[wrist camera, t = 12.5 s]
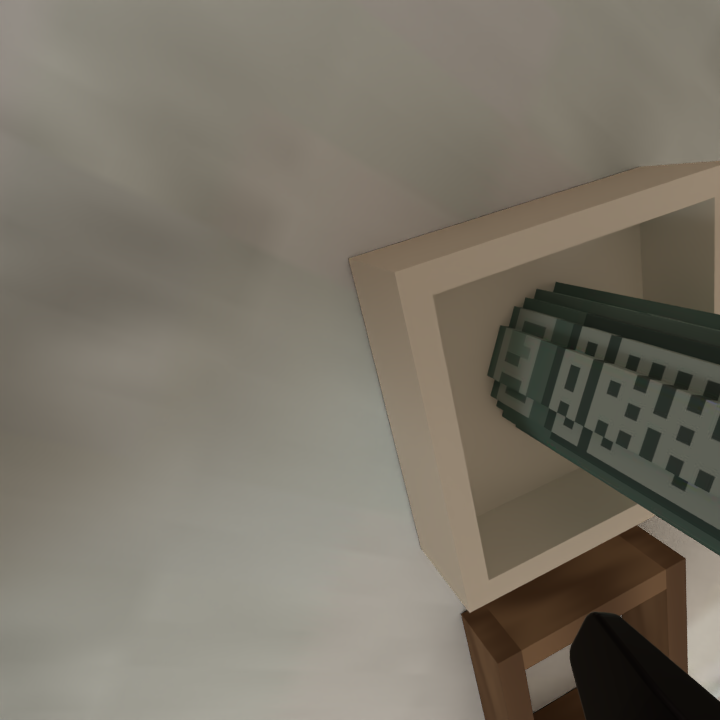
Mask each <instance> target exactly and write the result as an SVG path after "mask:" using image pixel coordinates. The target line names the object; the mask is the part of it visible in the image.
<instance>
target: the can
mask: <svg viewBox="0 0 720 720" xmlns="http://www.w3.org/2000/svg"><path fill="white" fill-rule="evenodd" d="M487 376H489V377H491V378H493V379H495V380H494V384H493V388H492V391H491V395H490V396H492V397H493V398H495V399H497V400H498V401H497V405H496V406H497V407H498V408H500V409H502V410H503V413H502V417H504V418H505V419H507V420H509V421H510V422H512V423H513V424H515V425H516V426H515V427H517V428H518V429H520V430H521V431H523V432H525V433H526V434H528V435H529V436H531V437H532V438H534V439H536V440H537V441H539V442H540V443H542V444H544V445H545V446H547V447H548V448H550V449H551V450H553V451H555V452H556V453H558V454H559V455H561V456H563V457H564V458H566V459H567V460H569V461H570V462H572V463H574V464H575V465H577V466H578V467H580V468H582V469H583V470H585V471H586V472H588V473H590V474H591V475H593V476H594V477H596V478H597V479H599V480H601V481H602V482H604V483H605V484H607V485H609V486H610V487H612V488H613V489H615V490H616V491H618V492H620V493H621V494H623V495H624V496H626V497H628V498H629V499H631V500H632V501H634V502H636V503H637V504H639V505H640V506H642V507H643V508H645V509H647V510H648V511H650V512H651V513H653V514H655V515H656V516H658V517H659V518H661V519H662V520H664V521H666V522H667V523H669V524H670V525H672V526H674V527H675V528H677V529H678V530H680V531H682V532H683V533H685V534H686V535H688V536H689V537H691V538H693V539H694V540H696V541H697V542H699V543H701V544H702V545H704V546H705V547H707V548H708V549H710V550H712V551H713V552H715V553H716V554H718V555H720V315H719V314H714V313H709V312H704V311H699V310H694V309H689V308H684V307H679V306H674V305H669V304H664V303H659V302H654V301H649V300H644V299H639V298H634V297H629V296H624V295H619V294H614V293H609V292H604V291H599V290H594V289H589V288H584V287H579V286H574V285H569V284H564V283H559V282H556V283H555V287H554V290H553V292H551V291H546V290H541V289H536V293H535V296H534V299H531V298H526V297H525V301H524V305H523V308H522V307H516V306H514V309H513V313H512V316H511V320H510V324H509V327H508V326H502V325H500V328H499V332H498V335H497V339H496V343H495V347H494V351H493V354H492V358H491V362H490V366H489V370H488V374H487Z"/></svg>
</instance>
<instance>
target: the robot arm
mask: <svg viewBox="0 0 720 720" xmlns="http://www.w3.org/2000/svg"><path fill="white" fill-rule="evenodd" d="M570 663H571V667H572V671H573V675H574V678H575V682H576V686H577V690H578V693H579V697H580V701H581V704H582V708H583V712H584V716H585V719H586V720H720V701H719V700H717V699H716V698H715V697H714V696H713V695H712V694H710V693H709V692H708V691H707V690H706V689H704V688H703V687H702V686H701V685H700V684H699V683H697V682H696V681H695V680H694V679H693V678H692V677H690V676H689V675H688V674H687V673H686V672H685V671H683V670H682V669H681V668H680V667H679V666H678V665H676V664H675V663H674V662H673V661H672V660H671V659H669V658H668V657H667V656H666V655H665V654H664V653H662V652H661V651H660V650H659V649H658V648H656V647H655V646H654V645H653V644H652V643H651V642H649V641H648V640H647V639H646V638H645V637H644V636H642V635H641V634H640V633H639V632H638V631H637V630H635V629H634V628H633V627H632V626H631V625H630V624H628V623H627V622H626V621H625V620H624V619H623V618H621V617H620V616H618V615H617V614H614V613H606V612H591V613H589V614H588V615H587V616H586V617H585V619H584V621H583V623H582V625H581V627H580V629H579V631H578V633H577V635H576V637H575V639H574V641H573V642H572V645H571V648H570Z"/></svg>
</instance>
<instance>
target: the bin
mask: <svg viewBox="0 0 720 720" xmlns="http://www.w3.org/2000/svg"><path fill="white" fill-rule="evenodd" d="M349 263H350V267H351V271H352V275H353V279H354V283H355V287H356V291H357V295H358V299H359V303H360V307H361V311H362V315H363V319H364V323H365V327H366V331H367V335H368V339H369V343H370V347H371V351H372V355H373V358H374V362H375V366H376V370H377V374H378V378H379V382H380V386H381V390H382V394H383V398H384V402H385V406H386V410H387V414H388V418H389V422H390V426H391V430H392V434H393V438H394V442H395V446H396V450H397V454H398V458H399V462H400V466H401V470H402V474H403V478H404V482H405V486H406V490H407V494H408V498H409V502H410V506H411V510H412V514H413V518H414V522H415V526H416V530H417V534H418V538H419V542H420V546H421V549H422V550H423V552H424V553H425V554H426V556H427V557H428V558H429V560H430V561H431V562H432V564H433V565H434V566H435V568H436V569H437V570H438V572H439V573H440V574H441V576H442V577H443V578H444V580H445V581H446V582H447V584H448V585H449V586H450V588H451V589H452V590H453V591H454V593H455V594H456V595H457V597H458V598H459V599H460V601H461V602H462V603H463V605H464V606H465V607H466V609H467V610H468V611H469V613H471V612H473V611H474V610H476V609H478V608H480V607H482V606H484V605H486V604H488V603H490V602H492V601H493V600H495V599H497V598H499V597H501V596H503V595H505V594H507V593H509V592H511V591H512V590H514V589H516V588H518V587H520V586H522V585H524V584H526V583H528V582H530V581H531V580H533V579H535V578H537V577H539V576H541V575H543V574H545V573H547V572H549V571H550V570H552V569H554V568H556V567H558V566H560V565H562V564H564V563H566V562H568V561H569V560H571V559H573V558H575V557H577V556H579V555H581V554H583V553H585V552H587V551H588V550H590V549H592V548H594V547H596V546H598V545H600V544H602V543H604V542H606V541H607V540H609V539H611V538H613V537H615V536H617V535H619V534H621V533H623V532H625V531H627V530H628V529H630V528H632V527H634V526H636V525H638V524H640V523H642V522H644V521H646V520H647V519H649V518H651V517H653V516H655V514H653V513H651V512H650V511H648V510H647V509H645V508H643V507H642V506H640V505H639V504H637V503H636V502H634V501H632V500H631V499H629V498H628V497H626V496H624V495H623V494H621V493H620V492H618V491H616V490H615V489H613V488H612V487H610V486H609V485H607V484H605V483H604V482H602V481H601V480H599V479H597V478H596V477H594V476H593V475H591V474H590V473H588V472H586V471H585V470H583V469H582V468H580V467H578V466H577V465H575V464H574V463H572V462H570V461H569V460H567V459H566V458H564V457H563V456H561V455H559V454H558V453H556V452H555V451H553V450H551V449H550V448H548V447H547V446H545V445H544V444H542V443H540V442H539V441H537V440H536V439H534V438H532V437H531V436H529V435H528V434H526V433H525V432H523V431H521V430H520V429H518V428H517V427H515V426H516V425H515V424H513V423H512V422H510V421H509V420H507V419H505V418H504V417H502V413H503V410H502V409H500V408H498V407H497V406H496V405H497V401H498V400H497V399H495V398H493V397H492V396H490V395H491V391H492V388H493V384H494V380H495V379H493V378H491V377H489V376H487V374H488V370H489V366H490V362H491V358H492V354H493V351H494V347H495V343H496V339H497V335H498V332H499V328H500V325H502V326H508V327H509V324H510V320H511V316H512V313H513V309H514V306H516V307H522V308H523V305H524V301H525V297H526V298H531V299H534V296H535V293H536V289H541V290H546V291H551V292H553V290H554V287H555V283H556V282H559V283H564V284H569V285H574V286H579V287H584V288H589V289H594V290H599V291H604V292H609V293H614V294H619V295H624V296H629V297H634V298H639V299H644V300H649V301H654V302H659V303H664V304H669V305H674V306H679V307H684V308H689V309H694V310H699V311H704V312H709V313H714V314H719V315H720V161H710V162H697V163H683V164H670V165H656V166H643V167H638V168H635V169H631V170H628V171H625V172H622V173H619V174H616V175H612V176H609V177H606V178H603V179H600V180H596V181H593V182H590V183H587V184H584V185H581V186H577V187H574V188H571V189H568V190H565V191H562V192H558V193H555V194H552V195H549V196H546V197H542V198H539V199H536V200H533V201H530V202H527V203H523V204H520V205H517V206H514V207H511V208H508V209H504V210H501V211H498V212H495V213H492V214H488V215H485V216H482V217H479V218H476V219H473V220H469V221H466V222H463V223H460V224H457V225H454V226H450V227H447V228H444V229H441V230H438V231H434V232H431V233H428V234H425V235H422V236H419V237H415V238H412V239H409V240H406V241H403V242H400V243H396V244H393V245H390V246H387V247H384V248H380V249H377V250H374V251H371V252H368V253H365V254H361V255H358V256H355V257H352V258H349Z"/></svg>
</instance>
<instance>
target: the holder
mask: <svg viewBox="0 0 720 720" xmlns="http://www.w3.org/2000/svg"><path fill="white" fill-rule="evenodd" d="M591 612H606V613H614V614H617V615H618V616H620V615H622V618H623V619H624V620H625V621H626V622H627V623H628V624H630V625H631V626H632V627H633V628H634V629H635V630H637V631H638V632H639V633H640V634H641V635H642V636H644V637H645V638H646V639H647V640H648V641H649V642H651V643H652V644H653V645H654V646H655V647H656V648H658V649H659V650H660V651H661V652H662V653H664V654H665V655H666V656H667V657H668V658H669V659H671V660H672V661H673V662H674V663H675V664H676V665H678V666H679V667H680V668H681V669H682V670H683V671H685V672H686V673H687V674H688V658H687V608H686V558H684V557H683V556H681V555H680V554H678V553H677V552H675V551H674V550H672V549H671V548H669V547H668V546H666V545H665V544H664V543H662V542H661V541H659V540H658V539H656V538H655V537H653V536H652V535H650V534H649V533H647V532H646V531H644V530H643V529H641V528H640V527H638V526H637V525H636V526H634V527H632V528H630V529H628V530H627V531H625V532H623V533H621V534H619V535H617V536H615V537H613V538H611V539H609V540H607V541H606V542H604V543H602V544H600V545H598V546H596V547H594V548H592V549H590V550H588V551H587V552H585V553H583V554H581V555H579V556H577V557H575V558H573V559H571V560H569V561H568V562H566V563H564V564H562V565H560V566H558V567H556V568H554V569H552V570H550V571H549V572H547V573H545V574H543V575H541V576H539V577H537V578H535V579H533V580H531V581H530V582H528V583H526V584H524V585H522V586H520V587H518V588H516V589H514V590H512V591H511V592H509V593H507V594H505V595H503V596H501V597H499V598H497V599H495V600H493V601H492V602H490V603H488V604H486V605H484V606H482V607H480V608H478V609H476V610H474V611H473V612H471V613H469V611H466V612H464V613H462V614H461V616H462V620H463V624H464V629H465V633H466V637H467V642H468V646H469V651H470V655H471V659H472V664H473V668H474V672H475V677H476V681H477V685H478V690H479V694H480V699H481V703H482V707H483V712H484V716H485V720H586V719H585V716H584V712H583V708H582V704H581V701H580V697H579V693H578V690H577V688H575V689H574V690H572V691H570V692H569V693H567V694H565V695H564V696H562V697H560V698H559V699H557V700H556V701H554V702H552V703H551V704H549V705H547V706H546V707H544V708H542V709H541V710H539V711H537V712H536V713H534V714H533V712H532V706H531V700H530V695H529V689H528V684H527V678H526V673H525V670H526V669H528V668H529V667H531V666H533V665H535V664H536V663H538V662H540V661H542V660H543V659H545V658H547V657H549V656H550V655H552V654H554V653H556V652H557V651H559V650H561V649H563V648H564V647H566V646H568V645H570V644H571V643H572V642H573V641H574V639H575V637H576V635H577V633H578V631H579V629H580V627H581V625H582V623H583V621H584V619H585V617H586V616H587V615H588V614H589V613H591Z"/></svg>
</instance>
